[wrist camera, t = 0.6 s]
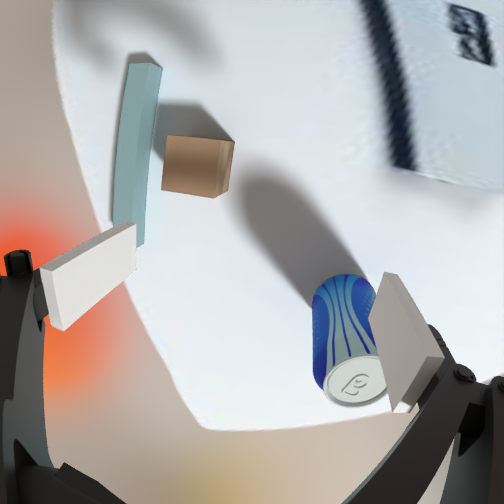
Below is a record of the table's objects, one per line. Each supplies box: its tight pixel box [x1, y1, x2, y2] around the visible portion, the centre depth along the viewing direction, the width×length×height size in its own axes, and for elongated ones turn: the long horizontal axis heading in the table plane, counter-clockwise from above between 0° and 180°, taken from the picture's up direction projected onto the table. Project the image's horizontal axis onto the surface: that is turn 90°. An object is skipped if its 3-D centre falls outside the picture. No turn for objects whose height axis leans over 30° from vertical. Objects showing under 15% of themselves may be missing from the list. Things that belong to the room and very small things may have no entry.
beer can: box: [312, 274, 388, 408], centre depth 30 cm, size 8×8×16 cm
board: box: [113, 62, 163, 248], centre depth 34 cm, size 24×3×4 cm, turn 171°
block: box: [161, 135, 235, 198], centre depth 32 cm, size 6×6×6 cm
